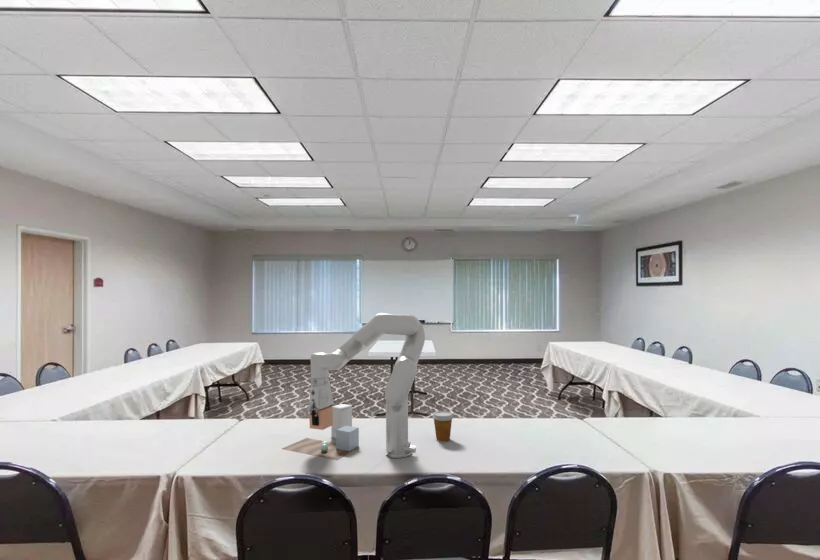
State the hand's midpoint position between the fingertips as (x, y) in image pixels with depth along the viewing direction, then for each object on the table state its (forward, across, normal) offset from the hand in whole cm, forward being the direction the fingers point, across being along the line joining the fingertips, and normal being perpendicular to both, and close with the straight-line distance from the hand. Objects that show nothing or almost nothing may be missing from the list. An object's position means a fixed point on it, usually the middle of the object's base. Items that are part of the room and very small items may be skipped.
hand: (321, 422), depth 180 cm
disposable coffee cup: (+15, +39, -40) cm, 58 cm away
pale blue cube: (+12, +8, -8) cm, 16 cm away
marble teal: (+11, -2, -1) cm, 11 cm away
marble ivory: (+10, +1, +2) cm, 10 cm away
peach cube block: (+2, 0, 0) cm, 2 cm away
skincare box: (+14, +20, +4) cm, 24 cm away
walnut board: (+13, +2, +2) cm, 13 cm away
